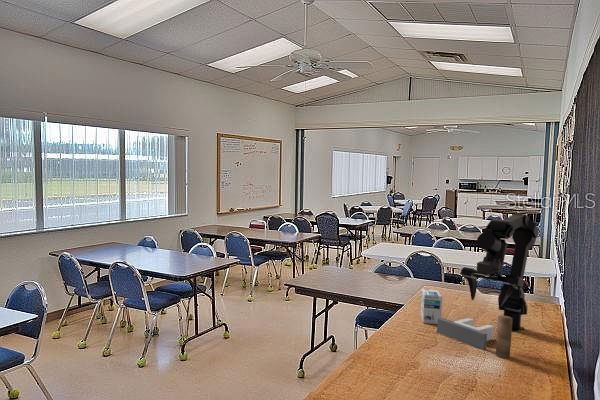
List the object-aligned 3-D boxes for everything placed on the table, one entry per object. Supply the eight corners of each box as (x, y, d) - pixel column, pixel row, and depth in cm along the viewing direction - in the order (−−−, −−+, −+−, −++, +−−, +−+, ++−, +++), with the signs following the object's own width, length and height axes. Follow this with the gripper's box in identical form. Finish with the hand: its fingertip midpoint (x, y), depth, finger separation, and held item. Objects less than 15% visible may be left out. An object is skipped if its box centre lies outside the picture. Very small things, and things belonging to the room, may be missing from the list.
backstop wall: (439, 332, 162) (440, 317, 162) (486, 349, 147) (487, 333, 147) (436, 332, 161) (437, 318, 161) (483, 349, 146) (484, 334, 146)
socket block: (467, 330, 165) (468, 318, 164) (493, 339, 157) (494, 326, 156) (451, 334, 160) (452, 321, 159) (477, 343, 151) (478, 330, 151)
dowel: (500, 352, 145) (502, 314, 144) (512, 356, 142) (515, 318, 141) (493, 354, 143) (495, 316, 142) (505, 359, 139) (507, 320, 139)
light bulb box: (441, 325, 170) (443, 296, 169) (422, 323, 171) (424, 294, 171) (437, 316, 181) (439, 289, 180) (419, 315, 182) (421, 288, 181)
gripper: (458, 247, 154) (449, 292, 152) (517, 255, 142) (507, 305, 139) (471, 254, 162) (462, 298, 159) (527, 263, 150) (519, 310, 147)
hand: (486, 303), depth 151 cm, fingers open, 9 cm apart
